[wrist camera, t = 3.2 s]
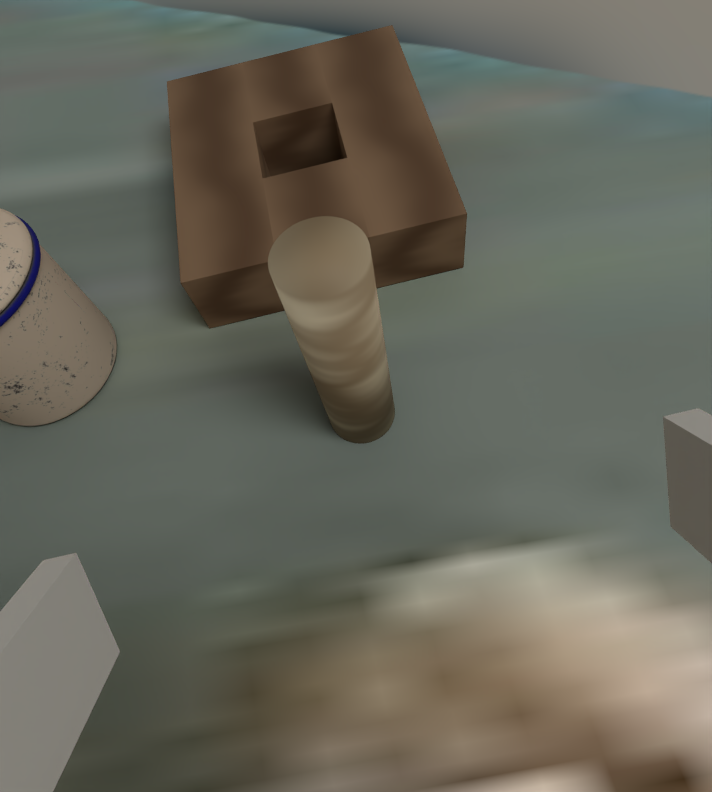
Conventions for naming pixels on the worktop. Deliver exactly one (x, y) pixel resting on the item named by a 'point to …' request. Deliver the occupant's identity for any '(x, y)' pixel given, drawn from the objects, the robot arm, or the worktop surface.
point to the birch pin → (336, 321)
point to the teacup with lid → (46, 333)
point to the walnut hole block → (307, 169)
